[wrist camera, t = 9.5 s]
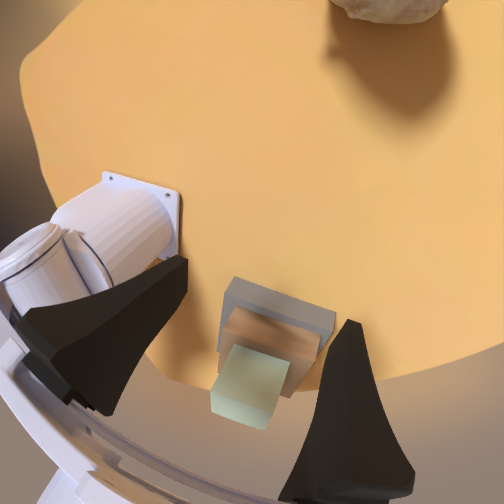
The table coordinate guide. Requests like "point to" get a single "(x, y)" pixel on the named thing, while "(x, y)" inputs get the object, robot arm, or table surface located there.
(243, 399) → the green cube
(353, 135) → the table surface
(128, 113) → the table surface
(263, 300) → the tower base
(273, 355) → the tower top
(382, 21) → the garlic bulb
